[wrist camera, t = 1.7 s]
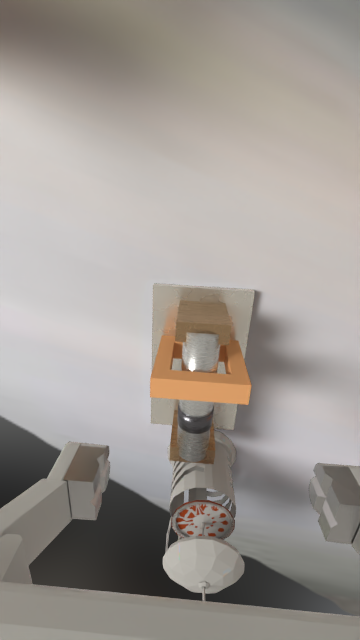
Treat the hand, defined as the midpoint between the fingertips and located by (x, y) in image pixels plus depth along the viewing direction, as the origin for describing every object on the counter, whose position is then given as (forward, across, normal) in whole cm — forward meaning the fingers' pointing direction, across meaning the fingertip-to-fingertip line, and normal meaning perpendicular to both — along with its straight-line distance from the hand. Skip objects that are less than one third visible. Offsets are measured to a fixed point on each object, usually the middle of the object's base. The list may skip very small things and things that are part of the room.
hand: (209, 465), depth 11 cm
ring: (+22, 0, +6) cm, 22 cm away
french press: (+24, -2, +25) cm, 34 cm away
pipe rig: (+23, 0, +9) cm, 25 cm away
